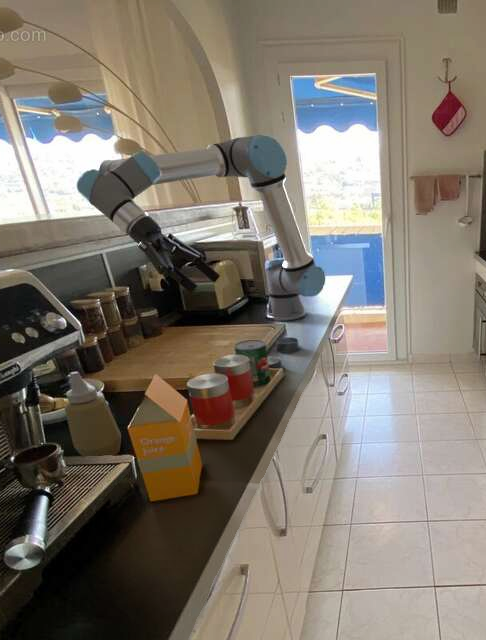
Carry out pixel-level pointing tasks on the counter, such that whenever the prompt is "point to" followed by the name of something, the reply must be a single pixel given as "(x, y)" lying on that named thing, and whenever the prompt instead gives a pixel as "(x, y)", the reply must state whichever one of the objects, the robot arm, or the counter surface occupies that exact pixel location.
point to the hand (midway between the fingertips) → (206, 284)
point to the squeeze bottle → (90, 420)
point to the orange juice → (165, 443)
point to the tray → (241, 411)
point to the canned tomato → (255, 360)
